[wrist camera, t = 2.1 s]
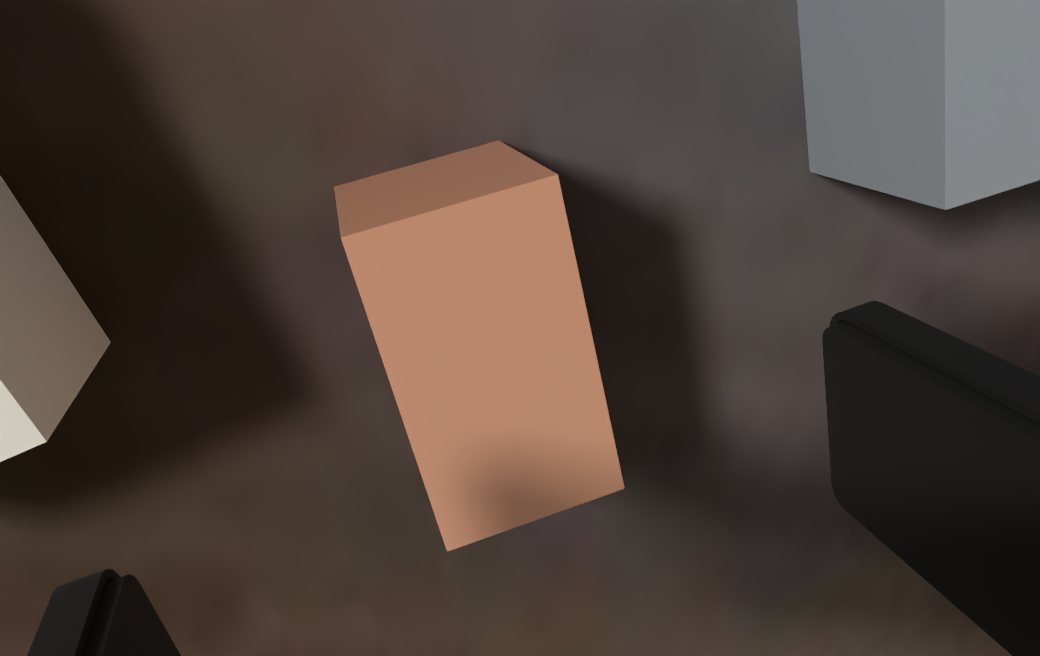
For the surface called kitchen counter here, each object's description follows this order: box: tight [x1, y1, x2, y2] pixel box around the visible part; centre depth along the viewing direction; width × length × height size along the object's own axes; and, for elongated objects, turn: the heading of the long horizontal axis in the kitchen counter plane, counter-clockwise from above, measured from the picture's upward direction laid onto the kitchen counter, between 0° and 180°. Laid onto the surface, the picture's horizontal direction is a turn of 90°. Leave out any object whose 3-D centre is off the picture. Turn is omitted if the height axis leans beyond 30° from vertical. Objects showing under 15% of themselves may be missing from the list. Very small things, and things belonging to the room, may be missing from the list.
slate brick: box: [797, 0, 1040, 210], centre depth 17 cm, size 7×4×5 cm, turn 14°
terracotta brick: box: [334, 141, 625, 551], centre depth 17 cm, size 7×4×5 cm, turn 14°
